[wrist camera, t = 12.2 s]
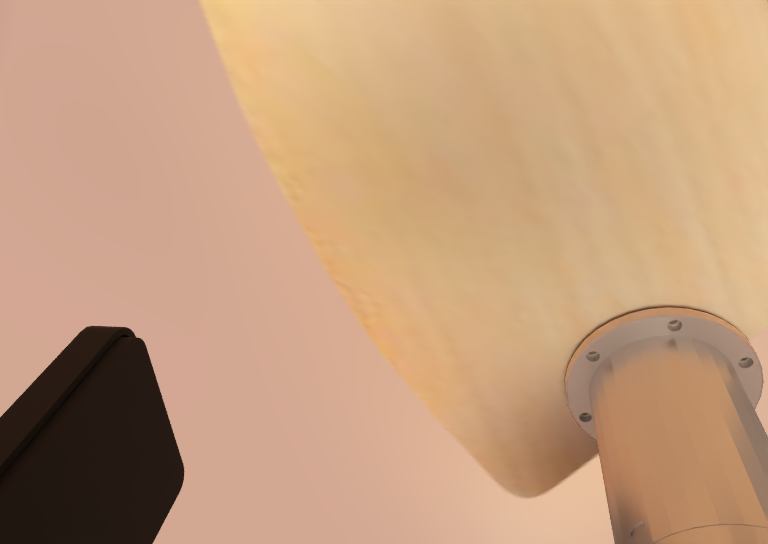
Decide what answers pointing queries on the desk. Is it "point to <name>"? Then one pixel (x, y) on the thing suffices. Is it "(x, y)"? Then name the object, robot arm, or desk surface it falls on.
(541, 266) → the desk surface
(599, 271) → the desk surface
